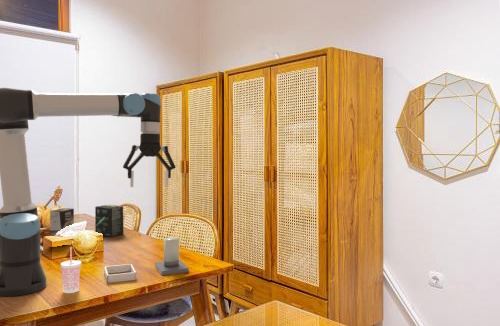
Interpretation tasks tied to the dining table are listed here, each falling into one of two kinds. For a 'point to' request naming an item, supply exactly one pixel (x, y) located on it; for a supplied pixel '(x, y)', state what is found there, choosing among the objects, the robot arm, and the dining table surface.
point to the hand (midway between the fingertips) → (149, 186)
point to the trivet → (171, 268)
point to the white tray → (119, 276)
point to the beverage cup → (71, 274)
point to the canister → (171, 252)
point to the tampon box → (109, 220)
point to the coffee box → (60, 219)
